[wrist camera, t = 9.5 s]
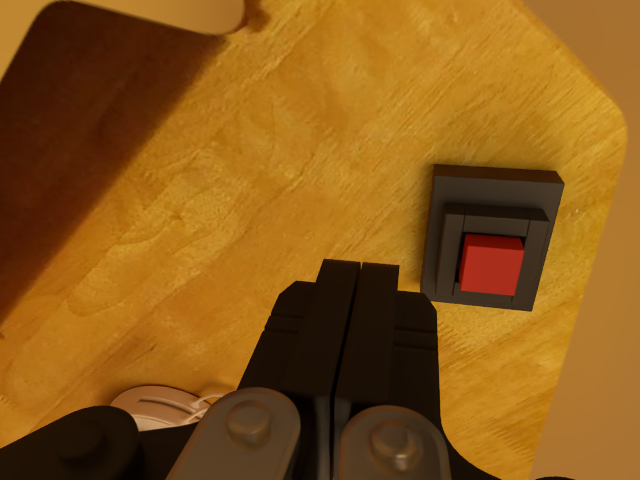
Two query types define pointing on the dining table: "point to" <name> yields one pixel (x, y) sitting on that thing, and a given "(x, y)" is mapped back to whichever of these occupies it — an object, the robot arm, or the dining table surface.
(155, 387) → the lotus flower trinket box
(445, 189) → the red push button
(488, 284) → the red button cap
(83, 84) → the dining table surface
